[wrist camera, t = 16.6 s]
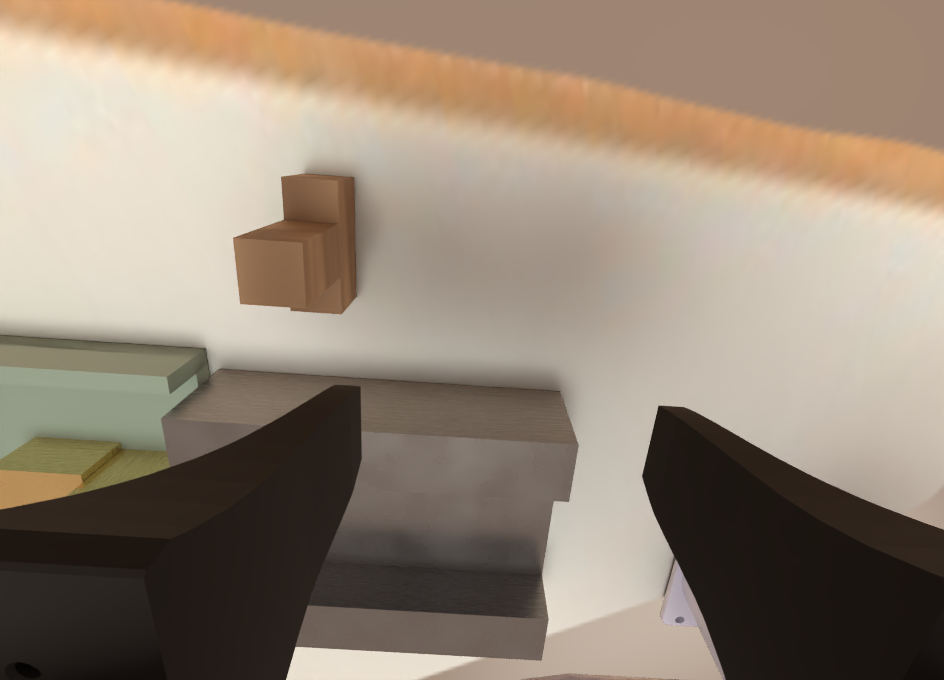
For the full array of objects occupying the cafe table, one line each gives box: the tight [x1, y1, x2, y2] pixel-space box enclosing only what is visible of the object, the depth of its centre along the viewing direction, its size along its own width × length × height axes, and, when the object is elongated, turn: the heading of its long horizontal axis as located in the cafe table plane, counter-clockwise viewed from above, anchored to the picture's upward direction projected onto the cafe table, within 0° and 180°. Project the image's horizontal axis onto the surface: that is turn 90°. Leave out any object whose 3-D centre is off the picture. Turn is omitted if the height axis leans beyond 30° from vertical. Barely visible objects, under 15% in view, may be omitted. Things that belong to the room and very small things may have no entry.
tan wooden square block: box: [0, 437, 122, 509], centre depth 23 cm, size 4×4×2 cm
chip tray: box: [0, 335, 209, 459], centre depth 23 cm, size 13×14×3 cm
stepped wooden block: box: [233, 174, 356, 314], centre depth 17 cm, size 2×5×6 cm, turn 176°
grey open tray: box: [161, 369, 578, 660], centre depth 23 cm, size 16×12×4 cm
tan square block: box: [67, 449, 170, 496], centre depth 22 cm, size 4×4×2 cm
